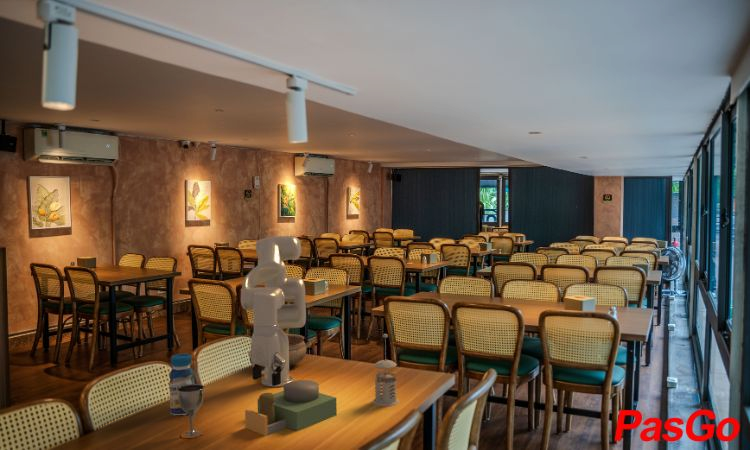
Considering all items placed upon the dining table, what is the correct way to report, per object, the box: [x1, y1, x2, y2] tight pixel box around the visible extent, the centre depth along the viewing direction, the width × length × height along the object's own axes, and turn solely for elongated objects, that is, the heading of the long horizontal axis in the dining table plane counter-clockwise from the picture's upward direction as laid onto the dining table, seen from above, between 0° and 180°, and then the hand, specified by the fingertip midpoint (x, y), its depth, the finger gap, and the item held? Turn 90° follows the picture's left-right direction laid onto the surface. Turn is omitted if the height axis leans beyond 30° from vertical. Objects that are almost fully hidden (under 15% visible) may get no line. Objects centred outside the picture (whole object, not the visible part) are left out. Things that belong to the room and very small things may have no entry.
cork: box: [258, 392, 276, 425], centre depth 194 cm, size 6×6×11 cm
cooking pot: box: [285, 333, 312, 368], centre depth 265 cm, size 25×19×12 cm
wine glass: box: [178, 383, 205, 436], centre depth 188 cm, size 8×8×15 cm
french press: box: [372, 333, 400, 407], centre depth 216 cm, size 10×12×25 cm
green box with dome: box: [244, 379, 338, 437], centre depth 200 cm, size 20×27×10 cm
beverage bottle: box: [168, 353, 195, 416], centre depth 208 cm, size 8×8×20 cm
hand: (266, 381), depth 194 cm, fingers open, 9 cm apart
